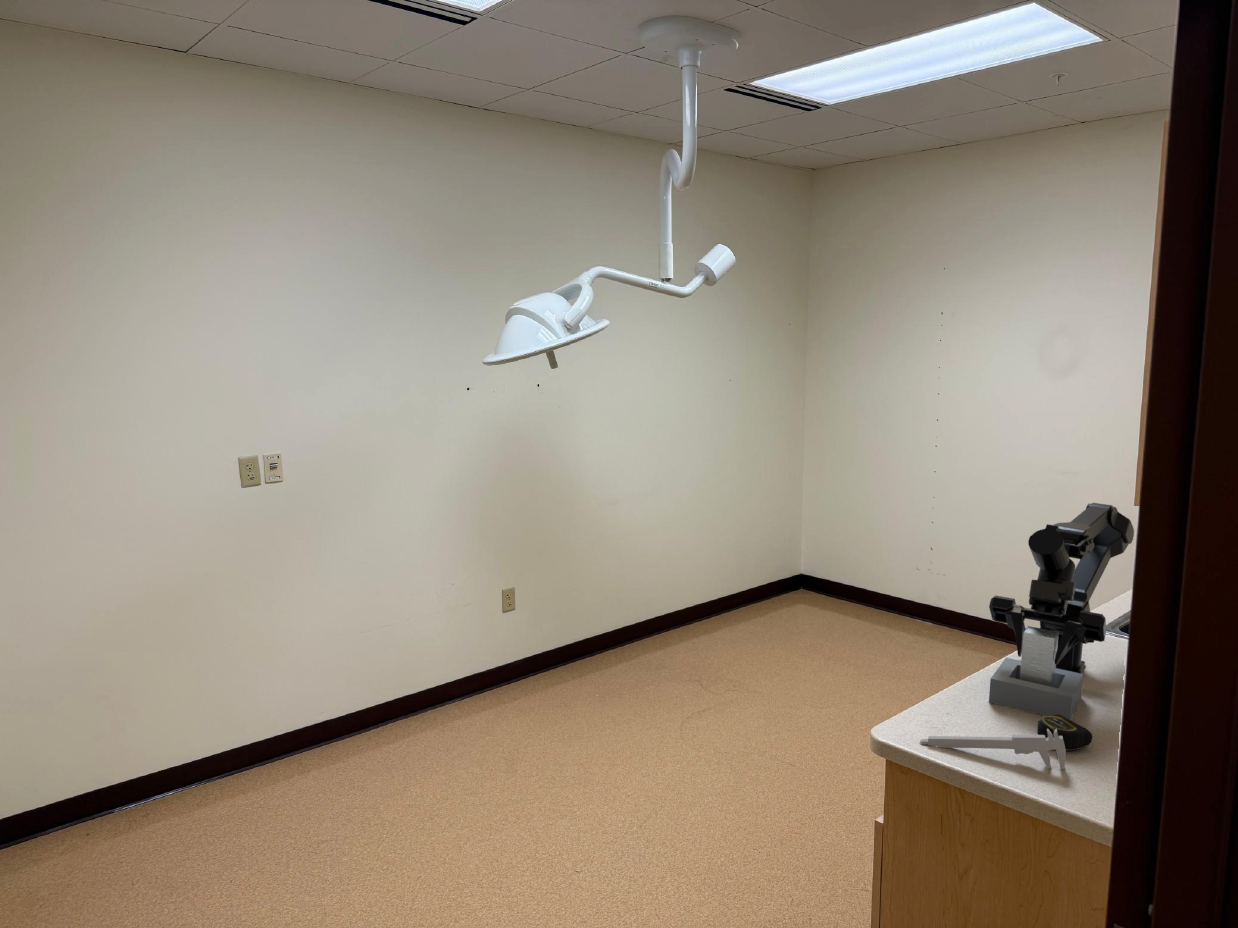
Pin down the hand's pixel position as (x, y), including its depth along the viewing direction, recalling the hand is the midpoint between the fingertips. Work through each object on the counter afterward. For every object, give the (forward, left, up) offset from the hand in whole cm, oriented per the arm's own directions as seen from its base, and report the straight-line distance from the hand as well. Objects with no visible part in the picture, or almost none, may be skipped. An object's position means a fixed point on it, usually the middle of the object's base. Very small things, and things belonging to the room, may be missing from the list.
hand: (1037, 659), depth 150 cm
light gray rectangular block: (-1, 0, -8) cm, 8 cm away
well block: (-1, 0, -8) cm, 8 cm away
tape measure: (+13, +7, -8) cm, 17 cm away
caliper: (+25, -2, -9) cm, 26 cm away
